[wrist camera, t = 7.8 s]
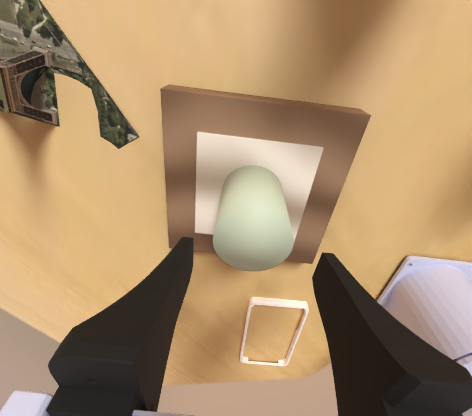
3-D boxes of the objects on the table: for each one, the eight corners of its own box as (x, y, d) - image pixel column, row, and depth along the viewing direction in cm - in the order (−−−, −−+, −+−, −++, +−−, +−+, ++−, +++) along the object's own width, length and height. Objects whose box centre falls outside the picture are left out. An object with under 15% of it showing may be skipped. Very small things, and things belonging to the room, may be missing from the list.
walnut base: (308, 249, 26) (312, 266, 24) (174, 234, 25) (168, 250, 23) (359, 109, 18) (372, 116, 16) (168, 84, 18) (159, 89, 16)
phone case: (249, 293, 31) (239, 354, 39) (249, 302, 30) (239, 363, 38) (308, 298, 31) (285, 357, 39) (310, 307, 30) (286, 367, 38)
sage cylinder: (273, 221, 21) (281, 276, 16) (218, 212, 21) (208, 265, 16) (289, 171, 18) (304, 217, 13) (226, 160, 18) (218, 202, 13)
